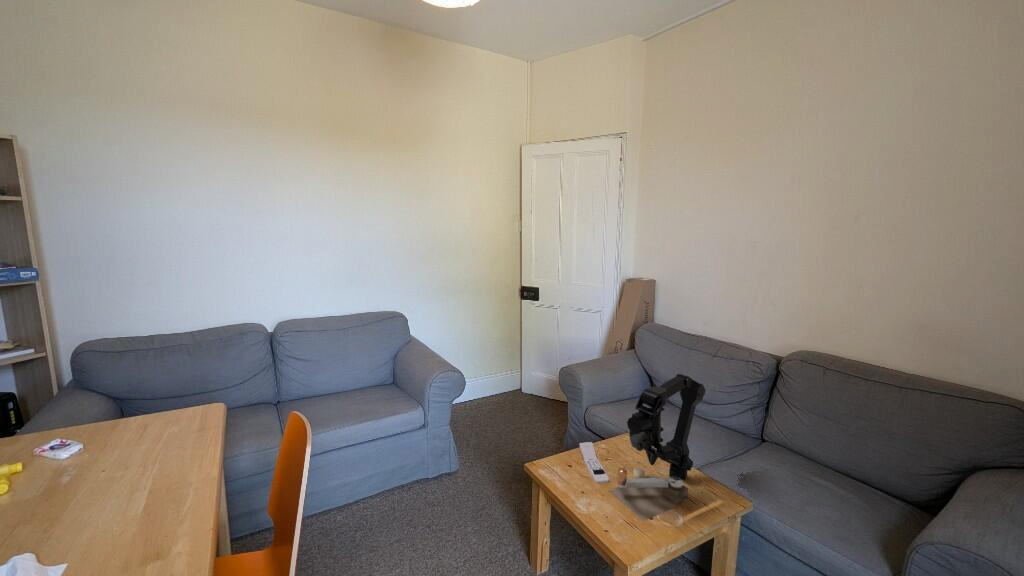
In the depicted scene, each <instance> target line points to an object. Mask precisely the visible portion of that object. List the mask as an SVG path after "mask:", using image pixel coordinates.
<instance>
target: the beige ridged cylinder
mask: <svg viewBox="0 0 1024 576" xmlns="http://www.w3.org/2000/svg"><path fill="white" fill-rule="evenodd" d="M645 476H646V475H645V469H644V468H643V467H641V466H636V467H634V468H633V476H632V478H644V477H645Z"/></svg>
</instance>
